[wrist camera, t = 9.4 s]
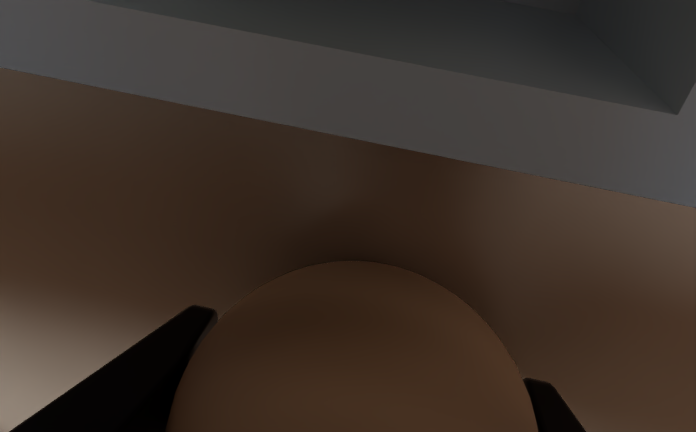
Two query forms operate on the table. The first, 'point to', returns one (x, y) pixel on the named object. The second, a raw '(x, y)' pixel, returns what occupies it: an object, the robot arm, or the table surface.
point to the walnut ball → (351, 360)
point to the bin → (407, 74)
